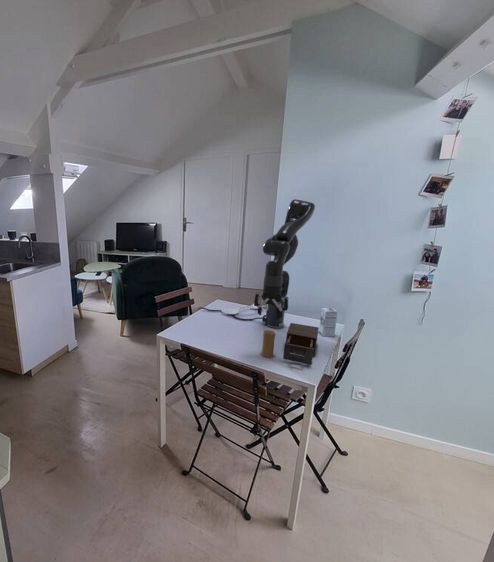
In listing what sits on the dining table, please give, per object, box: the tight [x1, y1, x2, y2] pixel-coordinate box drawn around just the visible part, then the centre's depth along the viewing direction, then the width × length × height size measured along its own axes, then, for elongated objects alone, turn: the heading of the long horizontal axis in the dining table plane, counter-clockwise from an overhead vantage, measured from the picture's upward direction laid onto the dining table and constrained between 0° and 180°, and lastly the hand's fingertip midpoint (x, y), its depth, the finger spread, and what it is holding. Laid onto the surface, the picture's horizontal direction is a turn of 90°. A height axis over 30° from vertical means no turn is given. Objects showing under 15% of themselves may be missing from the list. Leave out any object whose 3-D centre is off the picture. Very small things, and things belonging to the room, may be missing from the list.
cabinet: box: [285, 322, 320, 357], centre depth 157 cm, size 15×13×10 cm
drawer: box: [282, 335, 314, 366], centre depth 146 cm, size 18×11×8 cm, turn 145°
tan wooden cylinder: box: [261, 329, 276, 358], centre depth 151 cm, size 5×5×12 cm
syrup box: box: [318, 307, 338, 337], centre depth 170 cm, size 6×6×14 cm
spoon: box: [221, 303, 267, 316], centre depth 210 cm, size 9×32×4 cm, turn 110°
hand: (269, 316), depth 148 cm, fingers open, 8 cm apart
